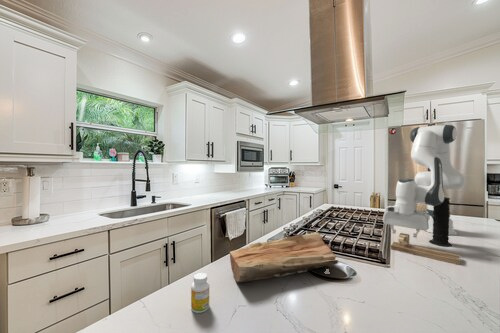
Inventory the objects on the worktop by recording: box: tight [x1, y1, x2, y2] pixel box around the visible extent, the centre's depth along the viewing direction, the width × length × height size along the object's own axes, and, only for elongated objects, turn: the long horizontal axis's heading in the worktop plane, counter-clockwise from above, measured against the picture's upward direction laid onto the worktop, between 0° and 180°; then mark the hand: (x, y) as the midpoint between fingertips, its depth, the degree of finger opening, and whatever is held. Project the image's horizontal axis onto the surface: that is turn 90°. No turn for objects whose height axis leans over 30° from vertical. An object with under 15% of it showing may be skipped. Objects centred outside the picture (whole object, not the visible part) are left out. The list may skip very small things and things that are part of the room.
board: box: [390, 241, 461, 266], centre depth 112 cm, size 8×26×2 cm, turn 47°
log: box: [229, 232, 339, 283], centre depth 91 cm, size 42×18×15 cm, turn 108°
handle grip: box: [428, 196, 453, 248], centre depth 127 cm, size 10×26×10 cm
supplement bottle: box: [190, 272, 210, 314], centre depth 69 cm, size 5×5×10 cm
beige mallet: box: [397, 232, 410, 246], centre depth 120 cm, size 12×4×6 cm, turn 137°
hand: (404, 235), depth 123 cm, fingers open, 8 cm apart
